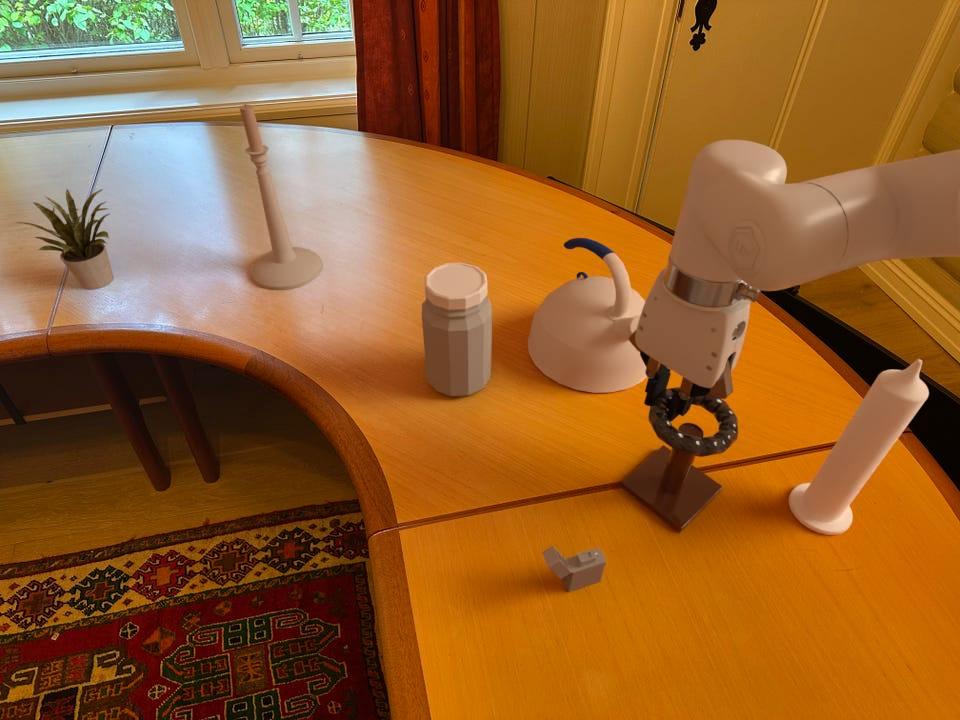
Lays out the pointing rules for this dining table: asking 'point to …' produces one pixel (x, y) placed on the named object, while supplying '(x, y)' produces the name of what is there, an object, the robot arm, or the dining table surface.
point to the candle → (859, 450)
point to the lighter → (576, 567)
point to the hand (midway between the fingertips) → (665, 406)
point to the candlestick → (276, 226)
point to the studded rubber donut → (691, 443)
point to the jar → (457, 329)
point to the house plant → (79, 243)
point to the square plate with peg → (672, 484)
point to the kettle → (590, 329)
